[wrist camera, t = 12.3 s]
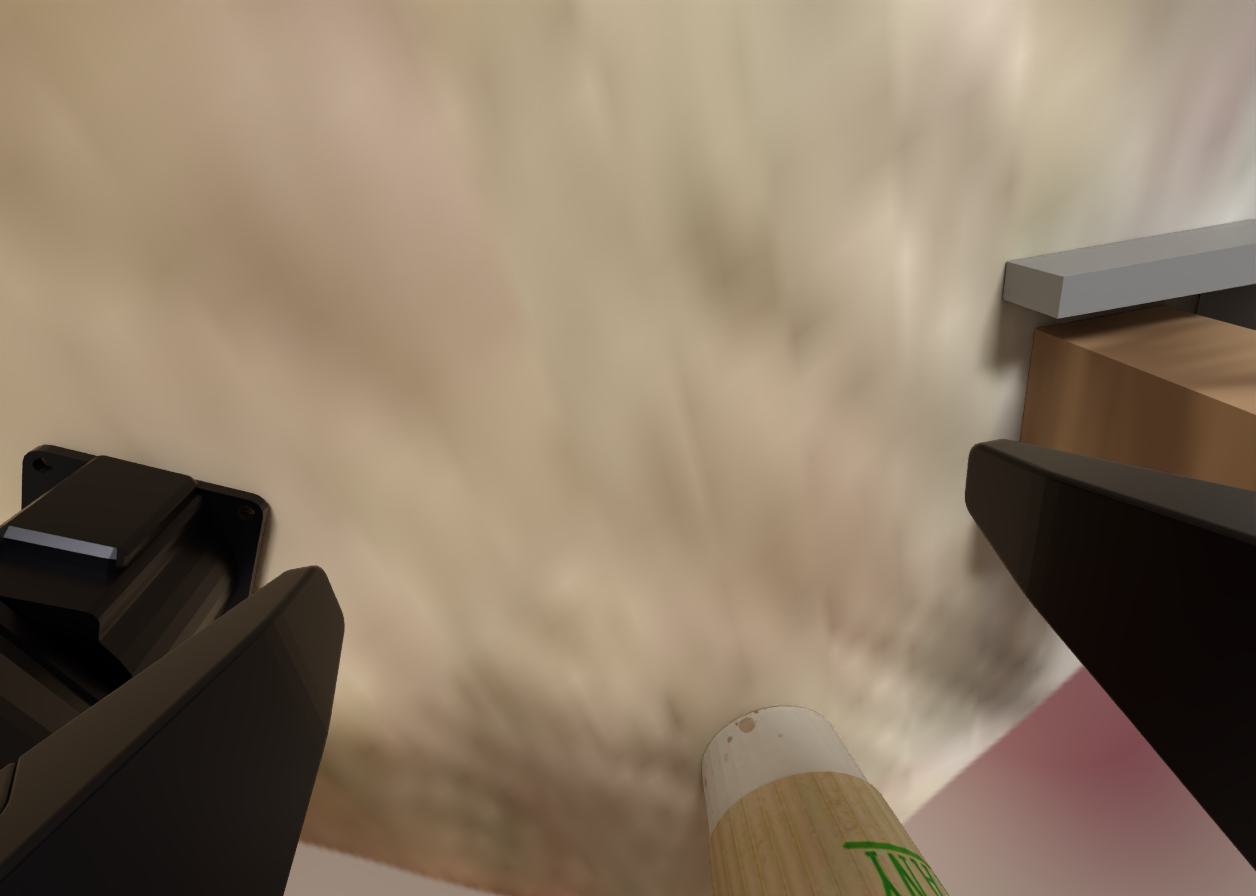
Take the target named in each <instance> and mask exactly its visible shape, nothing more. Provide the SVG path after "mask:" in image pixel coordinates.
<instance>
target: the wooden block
mask: <svg viewBox="0 0 1256 896" xmlns="http://www.w3.org/2000/svg"><path fill="white" fill-rule="evenodd" d="M1020 442H1022V443H1027V444H1031V445H1036V446H1041V447H1046V448H1051V449H1055V450H1060V451H1065V452H1070V453H1075V454H1079V455H1084V456H1089V457H1094V458H1099V459H1103V460H1108V461H1113V462H1118V463H1123V464H1127V465H1132V466H1137V467H1142V468H1147V469H1151V470H1156V471H1161V472H1166V473H1171V474H1175V475H1180V476H1185V477H1190V478H1194V479H1199V480H1204V481H1209V482H1214V483H1218V484H1223V485H1228V486H1233V487H1238V488H1242V489H1247V490H1252V491H1256V330H1252V329H1248V328H1245V327H1241V326H1237V325H1234V324H1230V323H1226V322H1223V321H1219V320H1215V319H1211V318H1208V317H1204V316H1200V315H1197V314H1193V313H1189V312H1186V311H1182V310H1178V309H1175V308H1171V307H1167V306H1159V307H1153V308H1147V309H1142V310H1136V311H1131V312H1125V313H1120V314H1114V315H1109V316H1103V317H1098V318H1092V319H1087V320H1081V321H1076V322H1070V323H1064V324H1059V325H1053V326H1048V327H1042V328H1037V329H1035V332H1034V340H1033V348H1032V355H1031V363H1030V370H1029V378H1028V385H1027V393H1026V401H1025V408H1024V416H1023V423H1022V431H1021V438H1020Z"/></svg>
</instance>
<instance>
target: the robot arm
mask: <svg viewBox="0 0 1256 896" xmlns="http://www.w3.org/2000/svg"><path fill="white" fill-rule="evenodd" d="M42 458H43V459H46V460H48V461H49V462H50V463H51V464H52V467H49V466H47V465H46V464H45V463H44V462H43V460H42ZM965 502H966V506H967V509H968V511H969V513H970V515H971V516H972V518H973V519H974V521H975V522H976V524H977V525H978V527H979V528H980V530H981V531H982V532H983V534H984V535H985V537H986V538H987V540H988V541H989V543H990V544H991V546H992V547H993V549H994V550H995V552H996V553H997V555H998V556H999V558H1000V559H1001V561H1002V562H1003V564H1004V565H1005V567H1006V568H1007V570H1008V571H1009V573H1010V574H1011V576H1012V577H1013V579H1014V580H1015V582H1016V583H1017V584H1018V586H1019V587H1020V589H1021V590H1022V591H1023V593H1024V594H1025V596H1026V597H1027V598H1028V599H1029V601H1030V602H1031V603H1032V604H1033V606H1034V607H1035V608H1036V610H1037V611H1038V612H1039V613H1040V614H1041V616H1042V617H1043V618H1044V619H1045V620H1046V622H1047V623H1048V624H1049V625H1050V626H1051V628H1052V629H1053V630H1054V631H1055V632H1056V633H1057V635H1058V636H1059V637H1060V638H1061V639H1062V641H1063V642H1064V643H1065V644H1066V645H1067V647H1068V648H1069V649H1070V650H1071V651H1072V653H1073V654H1074V655H1075V656H1076V657H1077V659H1078V660H1079V661H1080V662H1081V663H1082V664H1083V666H1084V667H1085V668H1086V669H1087V670H1088V671H1089V673H1090V674H1091V675H1092V676H1093V678H1095V680H1096V681H1097V682H1098V684H1099V685H1100V686H1101V687H1102V688H1103V690H1104V691H1105V692H1106V693H1107V694H1108V695H1109V697H1110V698H1111V699H1112V700H1113V701H1114V703H1115V704H1116V705H1117V706H1118V707H1119V709H1120V710H1121V711H1122V712H1123V713H1124V715H1125V716H1126V717H1127V718H1128V719H1129V721H1130V722H1131V723H1132V724H1133V725H1134V727H1135V728H1136V729H1137V730H1138V731H1139V732H1140V734H1141V735H1142V736H1143V737H1144V738H1145V740H1146V741H1147V742H1148V743H1149V744H1150V746H1151V747H1152V748H1153V749H1154V750H1155V752H1156V753H1157V754H1158V755H1159V756H1160V758H1161V759H1162V760H1163V761H1164V762H1165V763H1166V765H1167V766H1168V767H1169V768H1170V769H1171V771H1172V772H1173V773H1174V774H1175V775H1176V777H1177V778H1178V779H1179V780H1180V781H1181V782H1182V784H1183V785H1184V786H1185V787H1186V788H1187V790H1188V791H1189V792H1190V793H1191V794H1192V795H1193V797H1194V798H1195V799H1196V800H1197V802H1198V803H1199V804H1200V805H1201V806H1202V808H1203V809H1204V810H1205V811H1206V812H1207V813H1208V815H1209V816H1210V817H1211V818H1212V820H1213V821H1214V822H1215V823H1216V824H1217V825H1218V826H1219V828H1220V829H1221V830H1222V831H1223V833H1224V834H1225V835H1226V836H1227V837H1228V838H1229V840H1230V841H1231V842H1232V843H1233V845H1234V846H1235V847H1236V848H1237V849H1238V851H1239V852H1240V853H1241V854H1242V855H1243V856H1244V858H1245V859H1246V860H1247V861H1248V862H1249V864H1250V865H1251V866H1252V867H1253V868H1254V870H1255V871H1256V491H1252V490H1247V489H1242V488H1238V487H1233V486H1228V485H1223V484H1218V483H1214V482H1209V481H1204V480H1199V479H1194V478H1190V477H1185V476H1180V475H1175V474H1171V473H1166V472H1161V471H1156V470H1151V469H1147V468H1142V467H1137V466H1132V465H1127V464H1123V463H1118V462H1113V461H1108V460H1103V459H1099V458H1094V457H1089V456H1084V455H1079V454H1075V453H1070V452H1065V451H1060V450H1055V449H1051V448H1046V447H1041V446H1036V445H1031V444H1027V443H1022V442H1017V441H1012V440H1008V439H998V440H992V441H987V442H982V443H978V444H975V445H974V446H973V447H972V448H971V450H970V452H969V458H968V468H967V478H966V488H965ZM243 506H248V507H250V508H252V509H253V510H254V512H255V514H250V513H248V512H246V511H245V510H244V509H243ZM267 513H268V505H267V503H266V502H265V500H264V499H263V498H261V497H260V496H258V495H256V494H253V493H249V492H245V491H241V490H237V489H232V488H228V487H224V486H220V485H216V484H212V483H207V482H203V481H199V480H195V479H193V478H192V477H190V476H187V475H183V474H179V473H175V472H171V471H166V470H162V469H158V468H154V467H150V466H146V465H142V464H137V463H133V462H129V461H125V460H121V459H117V458H112V457H108V456H103V455H102V456H95V455H91V454H87V453H82V452H78V451H74V450H70V449H66V448H62V447H57V446H53V445H41V446H38V447H36V448H35V449H33V450H32V451H30V452H28V453H27V454H26V455H25V456H24V459H23V468H22V506H21V511H20V512H18V513H17V514H15V515H14V516H13V517H11V518H10V519H8V520H7V521H6V522H4V523H3V524H2V525H0V896H283V895H284V891H285V887H286V884H287V880H288V877H289V873H290V870H291V866H292V862H293V859H294V855H295V852H296V848H297V844H298V841H299V837H300V834H301V830H302V826H303V823H304V819H305V816H306V812H307V808H308V805H309V801H310V798H311V794H312V790H313V787H314V783H315V780H316V776H317V772H318V769H319V765H320V762H321V758H322V754H323V751H324V747H325V743H326V739H327V735H328V730H329V725H330V719H331V714H332V707H333V701H334V694H335V688H336V682H337V675H338V669H339V662H340V656H341V650H342V643H343V637H344V629H345V624H344V617H343V613H342V610H341V608H340V606H339V603H338V601H337V599H336V596H335V594H334V591H333V589H332V587H331V584H330V582H329V580H328V577H327V575H326V573H325V572H324V570H323V569H322V568H321V567H319V566H307V567H302V568H296V569H291V570H288V571H286V572H284V573H282V574H281V575H279V576H278V577H277V578H275V579H274V580H272V581H271V582H269V583H268V584H267V585H265V586H264V587H262V588H261V589H259V590H258V591H257V592H255V593H254V594H252V592H253V587H254V582H255V577H256V571H257V566H258V561H259V555H260V550H261V545H262V540H263V534H264V529H265V524H266V518H267Z"/></svg>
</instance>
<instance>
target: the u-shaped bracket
mask: <svg viewBox="0 0 1256 896" xmlns="http://www.w3.org/2000/svg"><path fill="white" fill-rule="evenodd" d="M1200 293H1201V295H1200V299H1199V303H1198V307H1197V311H1196V314H1197V315H1200V316H1204V317H1208V318H1211V319H1215V320H1219V321H1223V322H1226V323H1230V324H1234V325H1237V326H1241V327H1245V328H1248V329H1252V330H1256V219H1251V220H1245V221H1239V222H1233V223H1227V224H1222V225H1216V226H1210V227H1204V228H1198V229H1193V230H1187V231H1181V232H1175V233H1169V234H1164V235H1158V236H1152V237H1146V238H1140V239H1135V240H1129V241H1123V242H1117V243H1111V244H1106V245H1100V246H1094V247H1088V248H1083V249H1077V250H1071V251H1065V252H1059V253H1054V254H1048V255H1042V256H1036V257H1030V258H1025V259H1019V260H1013V261H1007V266H1006V275H1005V284H1004V293H1003V300H1006V301H1009V302H1012V303H1015V304H1017V305H1020V306H1023V307H1026V308H1029V309H1032V310H1034V311H1037V312H1040V313H1043V314H1046V315H1049V316H1051V317H1054V318H1057V319H1059V318H1064V317H1070V316H1076V315H1081V314H1087V313H1093V312H1098V311H1104V310H1109V309H1115V308H1121V307H1126V306H1132V305H1138V304H1143V303H1149V302H1154V301H1160V300H1166V299H1171V298H1177V297H1183V296H1188V295H1194V294H1200Z"/></svg>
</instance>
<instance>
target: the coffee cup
mask: <svg viewBox="0 0 1256 896" xmlns="http://www.w3.org/2000/svg"><path fill="white" fill-rule="evenodd" d="M702 778H703V786H704V794H705V801H706V809H707V817H708V825H709V832H710V842H709V861H710V869H711V877H712V886H713V894H714V896H949V895H948V893H947V892H946V890H945V889H944V887H943V886H942V884H941V883H940V881H939V880H938V878H937V877H936V875H935V874H934V872H933V871H932V869H931V868H930V866H929V865H928V864H927V862H926V860H925V859H924V857H923V856H922V854H921V853H920V851H919V850H918V848H917V847H916V845H915V844H914V842H913V841H912V839H911V838H910V837H909V835H908V833H907V832H906V831H905V829H904V827H903V826H902V824H901V823H900V821H899V820H898V818H897V817H896V815H895V814H894V812H893V811H892V809H891V808H890V807H889V805H888V804H887V802H886V801H885V799H884V798H883V796H882V795H881V793H880V792H879V791H878V790H877V789H876V788H875V787H874V786H873V785H871V784H870V783H869V782H868V780H867V779H866V777H865V776H864V774H863V773H862V771H861V770H860V768H859V767H858V765H857V763H856V762H855V760H854V759H853V757H852V756H851V754H850V753H849V751H848V750H847V748H846V747H845V745H844V744H843V742H842V741H841V739H840V738H839V736H838V735H837V733H836V731H835V730H834V728H833V727H832V725H831V724H830V723H829V722H828V721H827V720H826V719H825V718H824V717H822V716H821V715H819V714H817V713H816V712H813V711H810V710H808V709H805V708H799V707H793V706H777V707H771V708H764V709H761V710H758V711H754V712H751V713H749V714H746V715H744V716H742V717H740V718H738V719H736V720H735V721H733V722H732V723H730V724H728V725H727V726H725V727H724V728H723V729H722V730H721V731H720V732H719V733H718V734H717V735H716V736H715V737H714V738H713V740H712V741H711V742H710V743H709V745H708V747H707V749H706V751H705V753H704V756H703V760H702Z"/></svg>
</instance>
